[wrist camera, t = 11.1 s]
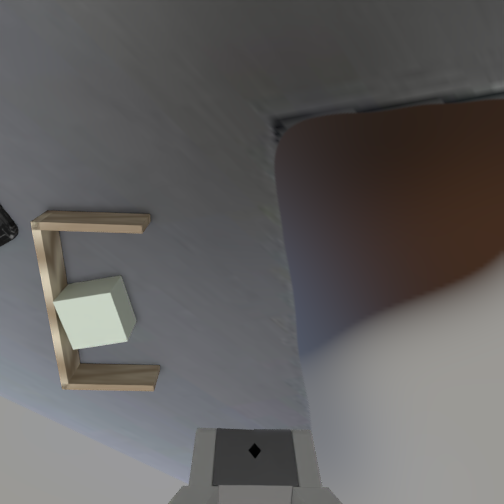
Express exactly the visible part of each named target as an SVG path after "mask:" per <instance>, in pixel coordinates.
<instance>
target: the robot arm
mask: <svg viewBox="0 0 504 504" xmlns="http://www.w3.org/2000/svg"><path fill="white" fill-rule="evenodd" d="M168 504H342V503H341V502H340V501H339V499H338V498H337V497H336V496H335V495H334V494H333V493H332V491H331V490H330V489H329V488H327V487H322V483H321V478H320V473H319V467H318V462H317V457H316V452H315V447H314V442H313V437H312V433H311V431H310V430H290V429H254V430H245V429H221V428H217V429H214V428H197V431H196V436H195V443H194V450H193V458H192V465H191V472H190V479H189V486H183V487H181V489H180V490H179V491H178V492H177V493H176V495H175V496H174V497H173V498H172V499H171V501H170V502H169V503H168Z"/></svg>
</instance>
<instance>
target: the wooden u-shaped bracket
mask: <svg viewBox="0 0 504 504" xmlns="http://www.w3.org/2000/svg"><path fill="white" fill-rule="evenodd" d="M150 222H151V220H150V214H133V213H105V212H76V211H46V212H45V213H43V214H42V215H40V216H38V217H37V218H35V219H34V220H32V221H31V228H32V233H33V238H34V243H35V249H36V254H37V259H38V265H39V270H40V275H41V280H42V286H43V291H44V296H45V302H46V307H47V312H48V317H49V323H50V328H51V333H52V338H53V344H54V349H55V354H56V360H57V365H58V370H59V375H60V381H61V386H62V389H69V390H120V391H154V389H155V386H156V382H157V379H158V375H159V372H160V365H124V364H80V359H79V353H78V349H75V350H73V348H72V346H71V343H70V341H69V339H68V336H67V334H66V332H65V329H64V327H63V325H62V322H61V320H60V318H59V315H58V313H57V311H56V309H55V306H54V304H53V301H54V300H55V299H56V298H57V296H58V295H59V294H60V293H61V292H62V291H63V289H64V288H65V287H66V286H67V278H66V272H65V266H64V260H63V254H62V247H61V241H60V235H59V231H81V232H111V233H141V234H143V232H144V231H145V229H146V228H147V226H148V225H149V223H150Z"/></svg>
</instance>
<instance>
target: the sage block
mask: <svg viewBox="0 0 504 504" xmlns="http://www.w3.org/2000/svg"><path fill="white" fill-rule="evenodd" d="M53 304H54V306H55V309H56V311H57V313H58V315H59V318H60V320H61V322H62V325H63V327H64V329H65V332H66V334H67V336H68V339H69V341H70V343H71V346H72V348H73V350H75V349H82V348H88V347H94V346H101V345H107V344H114V343H120V342H127V341H128V340H129V337H130V335H131V333H132V331H133V328H134V326H135V324H136V322H137V321H136V318H135V315H134V312H133V309H132V306H131V303H130V300H129V297H128V294H127V292H126V289H125V286H124V283H123V280H122V277H121V275H120V276H114V277H108V278H102V279H96V280H90V281H84V282H78V283H72V284H68V285H67V286H66V287H65V288H64V289H63V291H62V292H61V293H60V294H59V295H58V296H57V298H56V299H55V300H54V301H53Z"/></svg>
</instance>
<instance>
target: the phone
mask: <svg viewBox="0 0 504 504" xmlns="http://www.w3.org/2000/svg"><path fill="white" fill-rule="evenodd" d="M17 234H18V227H17V225H16V224H15V223H14V221H13V220H12V219H11V218H10V216H9V215H8V214H7V213H6V212H5V210H4V209H3V208H2V207H1V205H0V246H2V245H4V244H6V243H7V242H9V241H11V240H12V239H14V238H15V237H16V236H17Z"/></svg>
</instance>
